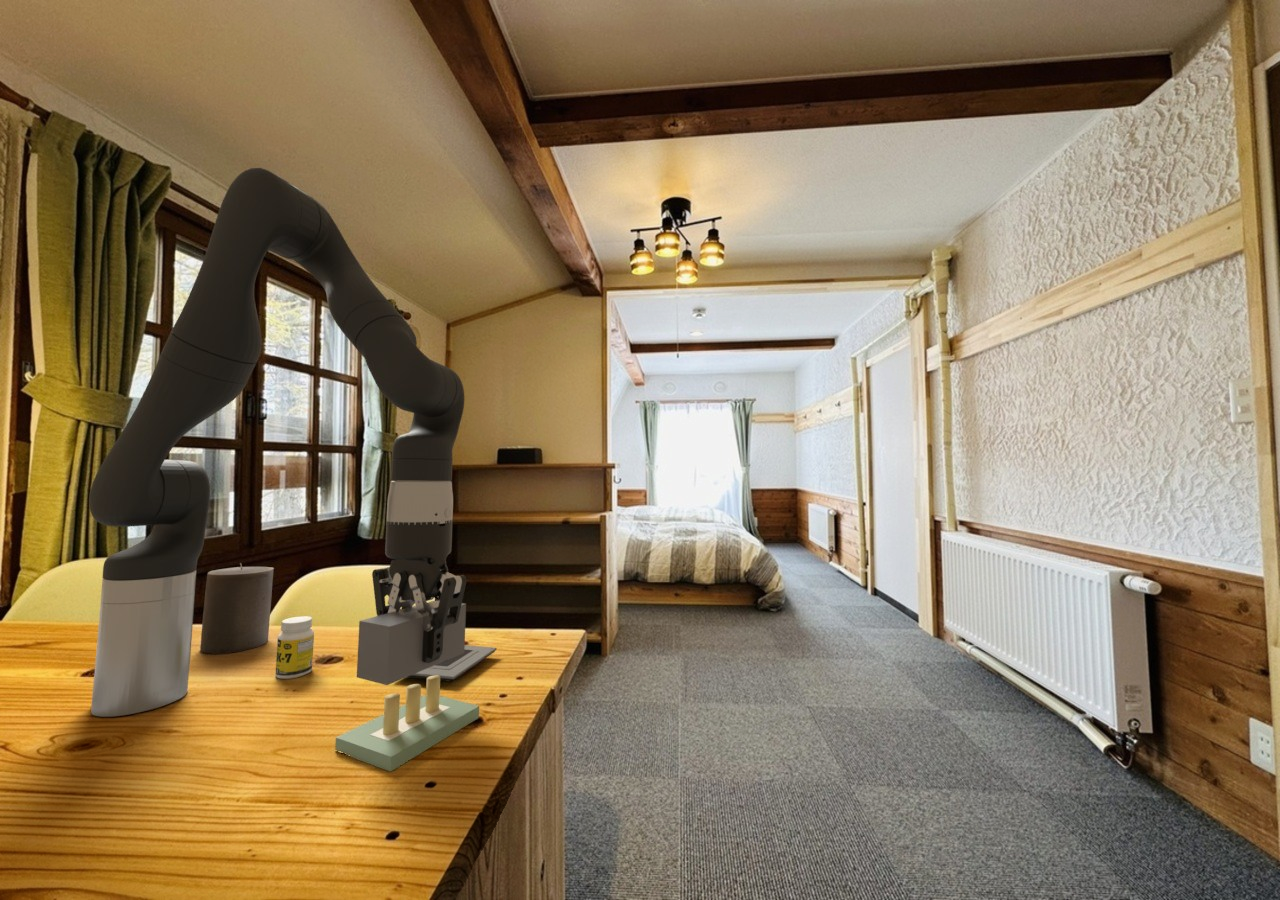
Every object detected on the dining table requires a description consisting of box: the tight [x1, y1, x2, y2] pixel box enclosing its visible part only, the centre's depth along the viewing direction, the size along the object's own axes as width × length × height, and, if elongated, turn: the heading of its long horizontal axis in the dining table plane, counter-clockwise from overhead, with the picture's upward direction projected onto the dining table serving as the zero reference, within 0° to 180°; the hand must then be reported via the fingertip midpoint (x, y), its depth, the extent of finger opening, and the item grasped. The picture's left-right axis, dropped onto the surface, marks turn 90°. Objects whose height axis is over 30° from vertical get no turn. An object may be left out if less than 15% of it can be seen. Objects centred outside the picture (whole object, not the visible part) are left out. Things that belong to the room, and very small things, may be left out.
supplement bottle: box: [275, 615, 315, 680], centre depth 77 cm, size 5×5×8 cm
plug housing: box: [356, 600, 467, 686], centre depth 59 cm, size 5×11×6 cm, turn 155°
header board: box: [334, 675, 480, 772], centre depth 59 cm, size 9×13×6 cm
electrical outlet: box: [407, 644, 497, 682], centre depth 79 cm, size 13×10×2 cm
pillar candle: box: [199, 562, 275, 655], centre depth 90 cm, size 10×10×15 cm
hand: (414, 656), depth 59 cm, fingers closed on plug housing, 5 cm apart
